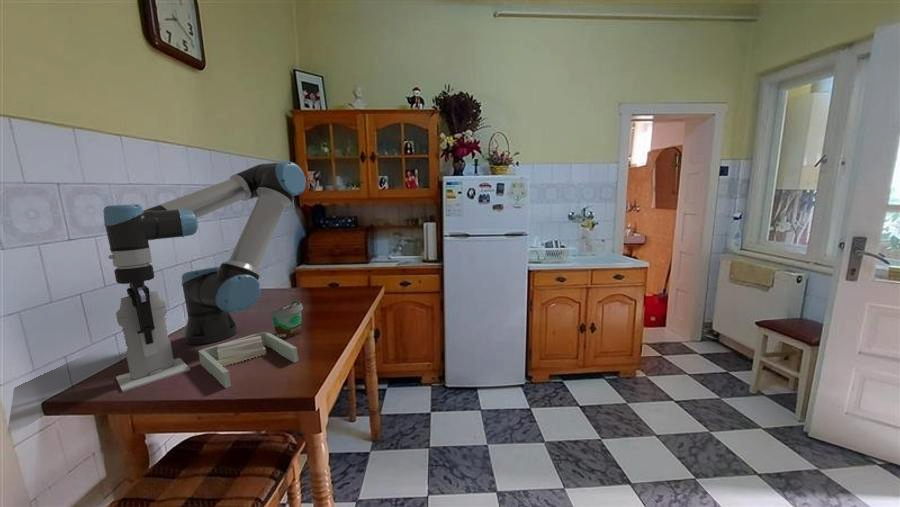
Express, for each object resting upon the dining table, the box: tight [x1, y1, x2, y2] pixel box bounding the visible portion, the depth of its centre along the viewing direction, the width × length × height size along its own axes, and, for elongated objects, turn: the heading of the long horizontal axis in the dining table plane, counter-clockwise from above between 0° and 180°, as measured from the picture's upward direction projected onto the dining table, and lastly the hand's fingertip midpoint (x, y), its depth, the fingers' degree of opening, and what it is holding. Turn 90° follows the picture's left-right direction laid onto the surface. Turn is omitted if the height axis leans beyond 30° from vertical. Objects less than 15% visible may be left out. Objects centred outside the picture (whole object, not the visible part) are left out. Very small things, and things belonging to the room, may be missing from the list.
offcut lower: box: [215, 345, 267, 367], centre depth 107 cm, size 6×12×2 cm, turn 129°
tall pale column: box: [115, 290, 174, 380], centre depth 97 cm, size 11×4×22 cm, turn 150°
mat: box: [115, 357, 191, 393], centre depth 99 cm, size 11×14×1 cm
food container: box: [270, 299, 304, 340], centre depth 123 cm, size 12×6×10 cm, turn 168°
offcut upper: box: [217, 336, 264, 359], centre depth 107 cm, size 5×11×2 cm, turn 121°
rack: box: [198, 330, 299, 389], centre depth 103 cm, size 21×18×4 cm
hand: (149, 352), depth 98 cm, fingers open, 3 cm apart
